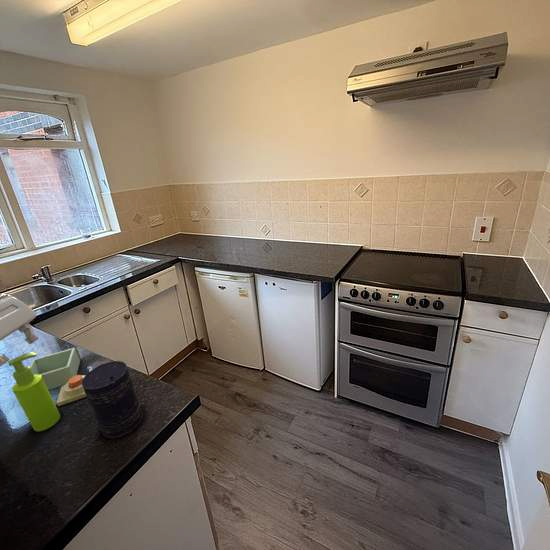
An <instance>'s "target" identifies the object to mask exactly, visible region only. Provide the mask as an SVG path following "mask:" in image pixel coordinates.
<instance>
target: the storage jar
mask: <svg viewBox="0 0 550 550" xmlns="http://www.w3.org/2000/svg"><path fill="white" fill-rule="evenodd" d="M133 382H134V381H133V379H132V376H131V373H130V371H129V368H128V365H127V363H125V362H124V361H122V360H121V361H120V360H114V361H110V362H105V363H103V364H100V365H98V366H96V367H94V368H93V369H91V370H90V371H88V372H87V373H86V374H85V377H84V378H83V380H82V386H83V388H84V391H85V395H86V397H85V398H86V399H87V403H89V405H90V406H91V407H92V409H93V411H94V417H95V419H96V423H97V425H98V427H99V429H100V431H101V433H102V435H103V436H104V437H105V438H108V439H115V438H120V437H123V436H125V435H127V434H129V433H130V432H132V431H133V430H134V429H136V427H137V426H139V425H140V423H141V422H142V419H143V417H144V411H143V409H142V406H141V405H142V404H141V402H140V399H139V398H138V395H137V393H136V392H135V389H134V383H133Z"/></svg>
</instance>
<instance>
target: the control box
mask: <svg viewBox="0 0 550 550" xmlns="http://www.w3.org/2000/svg"><path fill="white" fill-rule="evenodd" d="M85 375H86V374H85ZM85 375H83V374H82V375H81V376H82V378H84V377H85ZM84 398H87V397H86V395H85V391H84V388H83V386H82V384H81V385H79V386H78V387H75V388H70V386H69V384H68V382H67V383H66V384H65V385H62V386H60V390H59V394H58V397H57V399H56V404H55V405H56V407H60V406H63V405H66V404H70V403H72V402H75V401H78V400H80V399H84Z"/></svg>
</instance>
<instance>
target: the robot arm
mask: <svg viewBox="0 0 550 550" xmlns="http://www.w3.org/2000/svg"><path fill="white" fill-rule="evenodd" d="M36 318H37V313H36V311H35V310H33V309H32V308H31V307H30V306H28V304H26V303H25V302H24V301H22V300H21V299H18V298H16V297H14V296H13V295H11V294H4V293H1V294H0V342H1V341H2V340H4V339H5V338H7V337H9V336H10V335H12V334H14V333H15V332H17V331H19V332H20V333H23V334H24V337H25V339H24V341H25V342H26V343H27V344H29V345H32V344H34V343H35V342H36V341H37V340H39V336H38V335H36V334H35V332H34V330H33V329H34V328H33V326H32V325H31V324H30V322H32V321H33V320H34V319H36ZM8 361H10V358H9V357H7V355H5V354H4V353H3V354H1V355H0V368H1V367H2V366H4V365H5V364H6V363H8Z"/></svg>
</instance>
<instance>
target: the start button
mask: <svg viewBox="0 0 550 550" xmlns="http://www.w3.org/2000/svg"><path fill="white" fill-rule="evenodd" d="M82 376H83V375H82V374H77V375H76V376H74V377H72V378H70V379H69V380H68V384H69V386H70V388H75V387H78V386H79V385H81V384H82V380H83V378H82Z"/></svg>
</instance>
